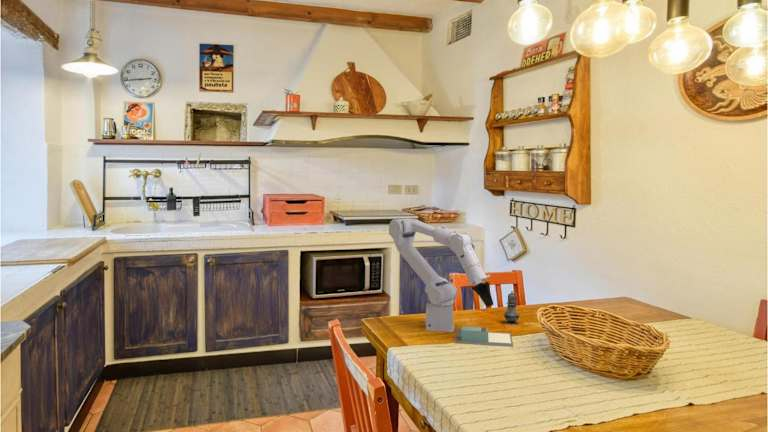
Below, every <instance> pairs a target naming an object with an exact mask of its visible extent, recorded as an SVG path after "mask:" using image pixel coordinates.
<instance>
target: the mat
mask: <svg viewBox="0 0 768 432" xmlns="http://www.w3.org/2000/svg"><path fill="white" fill-rule="evenodd" d="M461 332H462V329H456V332H455V333H456V334H455V338H454V339H455V340H454V344H462V345H463V344H464V345H475V346H494V347H507V348H508V347H509V348H510V347H511V348H514V342H513V337H512V333H510V332H495V331H487V342H477V341H461Z"/></svg>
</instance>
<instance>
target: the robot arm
mask: <svg viewBox="0 0 768 432" xmlns="http://www.w3.org/2000/svg"><path fill="white" fill-rule="evenodd" d="M388 225H389V226H388V235H389V236H390V237H391V238H392V239H393V242H394V244H395V248H396V250H397V251H398V252H399V254H400V255H401V256H402V257H403V259H404V260H405V261H406V262H407V264H408V265H409V266H410V268H412V270H413V271H414V273H416V274H417V276H418V278H420V279H421V281H422V282H423V283H424V285H425V289H424V292H425V293H426V295H427V297H428V300H429V302H430V303H429V302H428V303H426V308H425V330H426V331H432V332H433V331H434V332H451V333H453V332H454V330H455V324H454V304H455V303H454V302H455V300H456V299H457V297H458V288H457V287H456V286H455V284H453V283H451V282H449V281H448V279H446V278H444V277H442V276H440V275H439V274H438V273H437V272H436V271H435V270H434V268H433V267H432V266H431V265H430V264H429V263H428V262H427V260H426V259H425V258H424V256H423V255H422V254H421V253H420V252H419V251H418V249H417V248H416V247H415V246H414V245H413V243H414V240H415V237H416V233H419V234H423V235H425V236H428V237H432V238H433V240H434V242H435V243H437V244H441V245H443V246H446V247H448V248H449V249H450V250H451V251H452V252H454V254H455V255H456V257H457V258H458V260H459V262H460V264H461V266H462V268H463V271H464V273H465V276H466V277H467V280H468V281H469V286H473V287H471V290H473V291H474V292H475V293H476V294H477V295H478V296H479V298H480V299H481V302H483V304H484V305H485V306H486V308H489V307H492V306H494V302H493V298H492V295H491V289H490V285H491V284H490V282H489V281H486V280H487V279H488V278H490V277H491V275H490V274H486V273H485V271H484V269H483V267H482V265H481V262H480V260H479V258H478V255H477V254H476V252H475V249H474V247H473V242H474V241H473V238H472V236H471V235H470V234H469V233H467V232H461V233H460V232H459V230H456V229H455V230H453V229H449V228H448V226H447V225H441V226H438V227H435V226H433V225H430V224H428V223H425V222H423V221H421V220H419V219H417V218H413V217H407V218H399V219H398V218H394V219H392V220H391V221H390V222H389V224H388ZM484 281H486V282H484Z"/></svg>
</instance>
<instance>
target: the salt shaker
mask: <svg viewBox="0 0 768 432" xmlns="http://www.w3.org/2000/svg"><path fill="white" fill-rule="evenodd" d="M506 305H507V307H506V311H504V312H503V313H502V315H504V316H503V317H504V320H506V321H503V324H504V325H516V326H519V325H518V323H519V322H518V320H519V318H520V316H521V313H519V312H517V305H518V303H517V295H516V294H515V293H514V291H513V290H512V291H511V293H508V294H507V302H506Z"/></svg>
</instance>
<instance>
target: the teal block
mask: <svg viewBox="0 0 768 432" xmlns="http://www.w3.org/2000/svg"><path fill="white" fill-rule="evenodd" d="M461 330H462V332H461V341H477V342H487V332H488V328H487V327H475V326H461Z"/></svg>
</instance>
